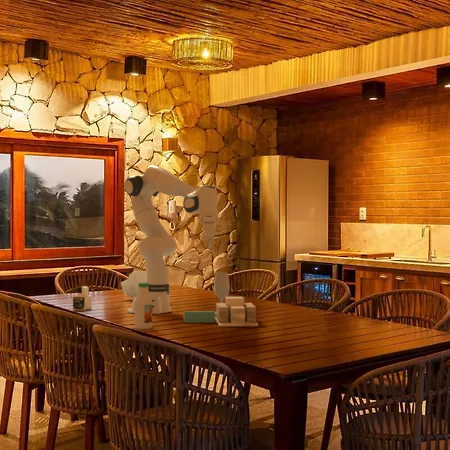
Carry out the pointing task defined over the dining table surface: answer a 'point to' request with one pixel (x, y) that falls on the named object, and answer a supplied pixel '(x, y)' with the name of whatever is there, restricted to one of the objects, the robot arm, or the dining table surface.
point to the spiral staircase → (134, 283)
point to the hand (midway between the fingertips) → (209, 249)
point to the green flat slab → (198, 316)
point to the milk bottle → (143, 308)
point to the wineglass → (221, 285)
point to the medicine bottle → (82, 299)
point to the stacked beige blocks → (235, 313)
